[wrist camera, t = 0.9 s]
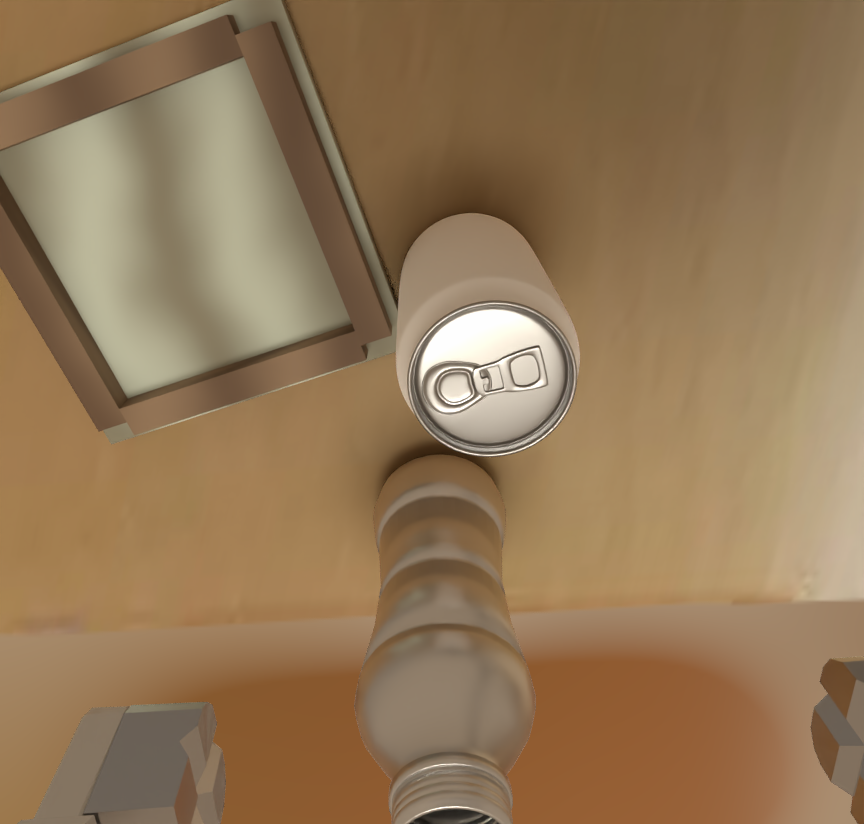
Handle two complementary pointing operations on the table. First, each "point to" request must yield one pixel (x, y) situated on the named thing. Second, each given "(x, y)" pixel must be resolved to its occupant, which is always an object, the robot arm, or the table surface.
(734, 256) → the table surface
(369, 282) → the wooden picture frame
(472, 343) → the can
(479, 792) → the plastic bottle
